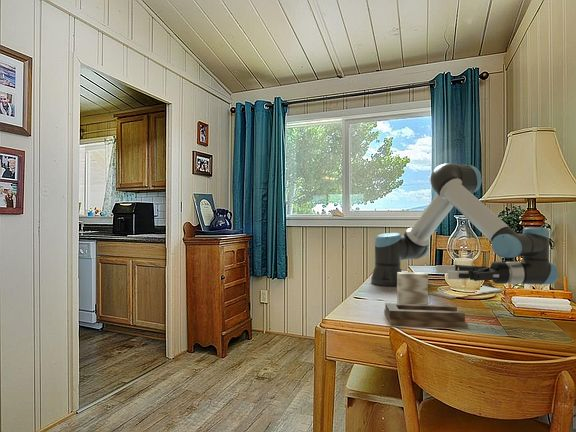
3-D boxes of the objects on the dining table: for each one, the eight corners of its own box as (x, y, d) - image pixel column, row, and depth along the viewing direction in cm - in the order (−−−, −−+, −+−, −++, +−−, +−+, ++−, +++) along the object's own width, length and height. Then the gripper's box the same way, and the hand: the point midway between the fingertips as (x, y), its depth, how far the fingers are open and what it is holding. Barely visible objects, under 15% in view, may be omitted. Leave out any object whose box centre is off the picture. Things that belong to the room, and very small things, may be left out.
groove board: (452, 314, 123) (452, 303, 123) (467, 328, 109) (467, 315, 109) (384, 312, 126) (384, 301, 126) (390, 325, 112) (390, 312, 112)
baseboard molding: (426, 294, 156) (450, 300, 145) (426, 287, 156) (450, 293, 145) (477, 287, 170) (502, 293, 159) (477, 281, 169) (502, 286, 159)
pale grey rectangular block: (425, 305, 135) (425, 272, 135) (427, 308, 131) (428, 274, 131) (396, 304, 136) (397, 272, 136) (398, 307, 133) (398, 273, 132)
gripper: (524, 290, 117) (453, 289, 120) (490, 277, 142) (432, 276, 144) (524, 266, 117) (453, 266, 120) (490, 257, 142) (432, 257, 144)
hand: (441, 271), depth 132 cm, fingers open, 13 cm apart
